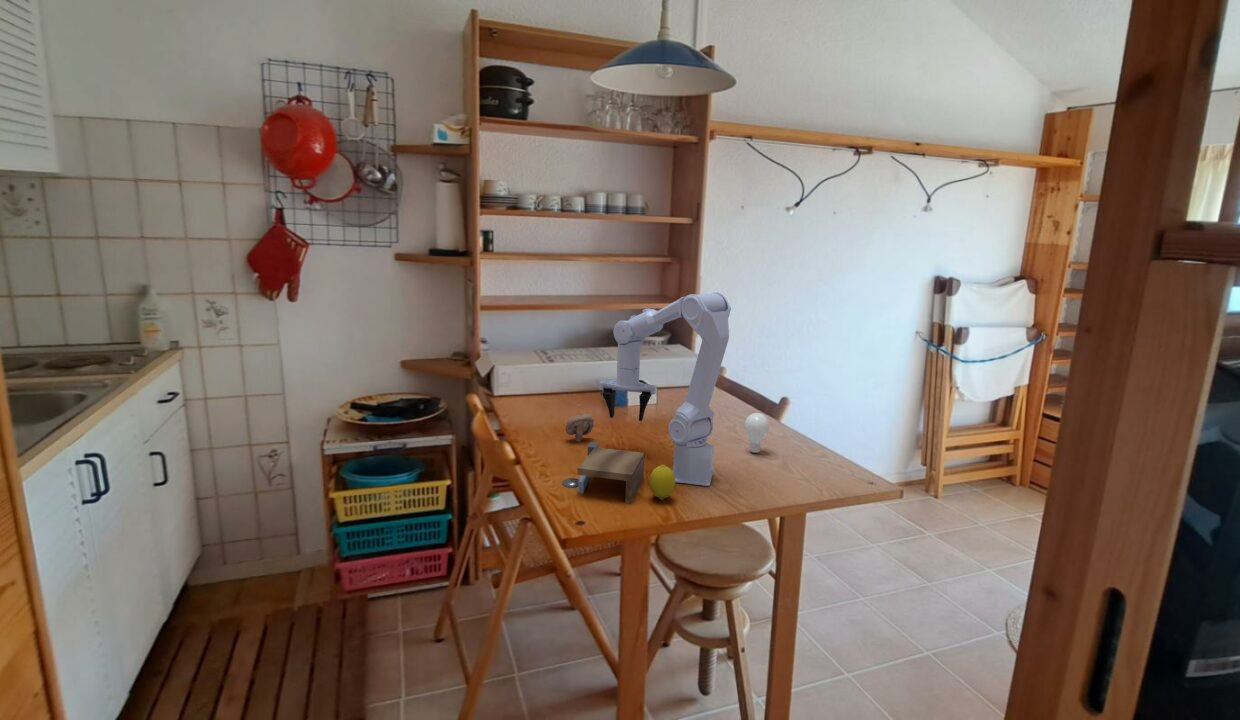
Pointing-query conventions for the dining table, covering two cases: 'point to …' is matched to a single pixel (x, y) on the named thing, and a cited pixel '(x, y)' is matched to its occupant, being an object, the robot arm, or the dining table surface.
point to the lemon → (662, 481)
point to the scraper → (583, 479)
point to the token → (570, 482)
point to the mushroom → (579, 425)
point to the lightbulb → (756, 430)
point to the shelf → (615, 467)
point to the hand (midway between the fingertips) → (626, 418)
